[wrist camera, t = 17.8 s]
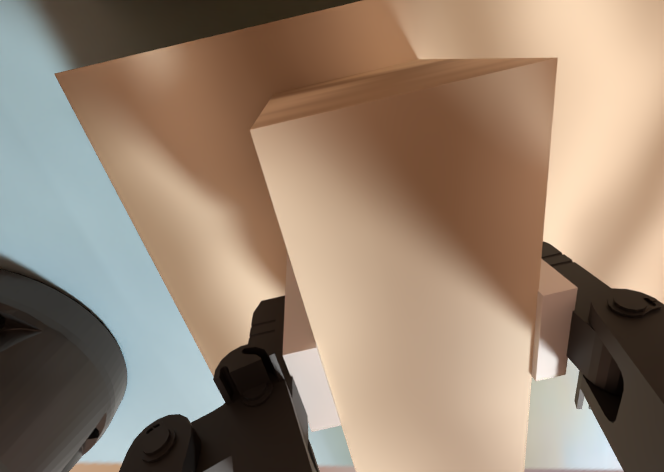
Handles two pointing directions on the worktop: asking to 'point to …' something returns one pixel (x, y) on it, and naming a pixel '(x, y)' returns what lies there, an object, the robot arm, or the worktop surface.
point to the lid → (396, 194)
